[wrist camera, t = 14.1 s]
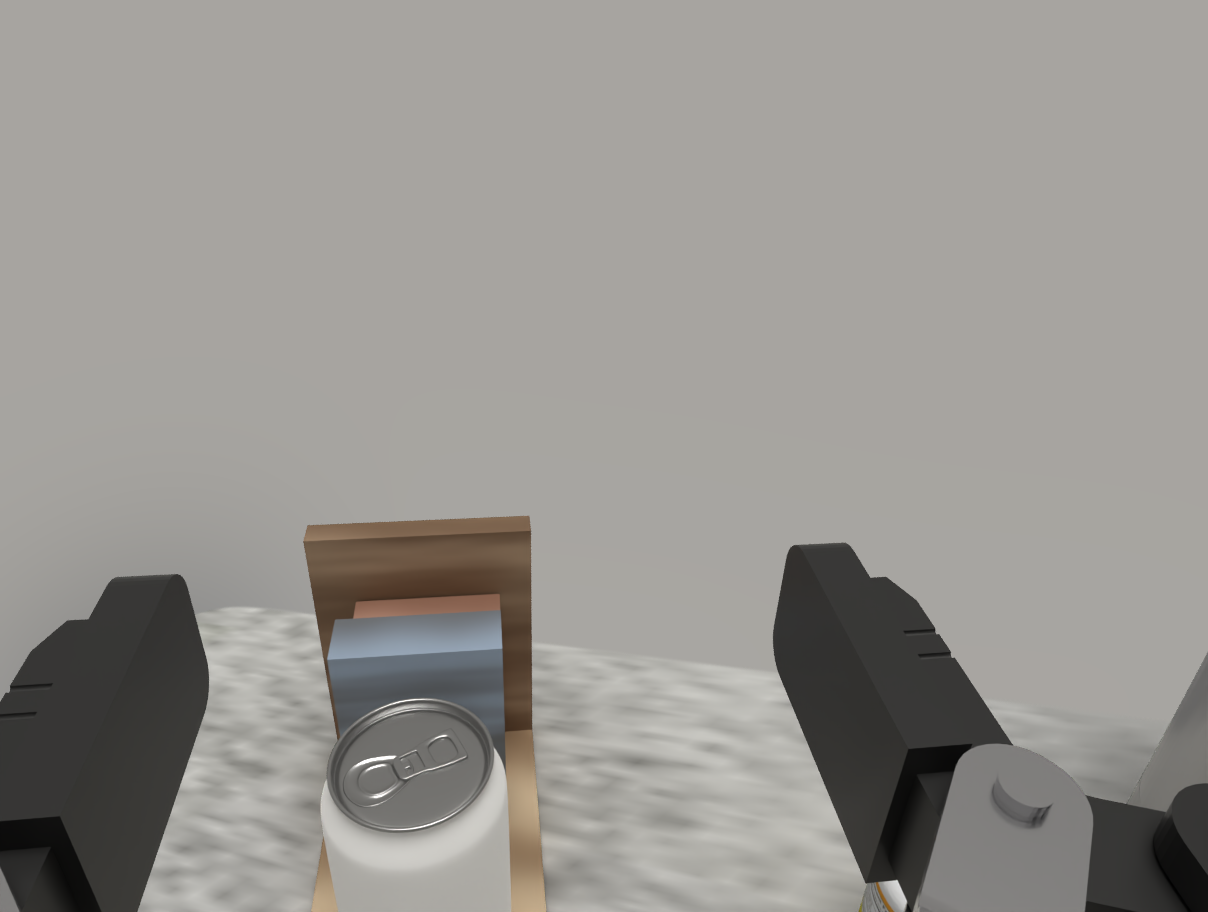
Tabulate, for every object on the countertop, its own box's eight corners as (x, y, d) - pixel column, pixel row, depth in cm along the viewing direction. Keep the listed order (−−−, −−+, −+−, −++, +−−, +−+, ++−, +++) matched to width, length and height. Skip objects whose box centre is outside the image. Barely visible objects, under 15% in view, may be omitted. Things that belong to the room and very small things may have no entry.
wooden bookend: (556, 1069, 34) (561, 831, 26) (289, 1103, 33) (215, 863, 25) (530, 726, 48) (528, 510, 41) (345, 740, 47) (309, 520, 40)
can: (331, 929, 37) (289, 731, 31) (472, 858, 40) (459, 665, 34) (386, 1077, 32) (349, 879, 26) (540, 983, 35) (540, 786, 29)
